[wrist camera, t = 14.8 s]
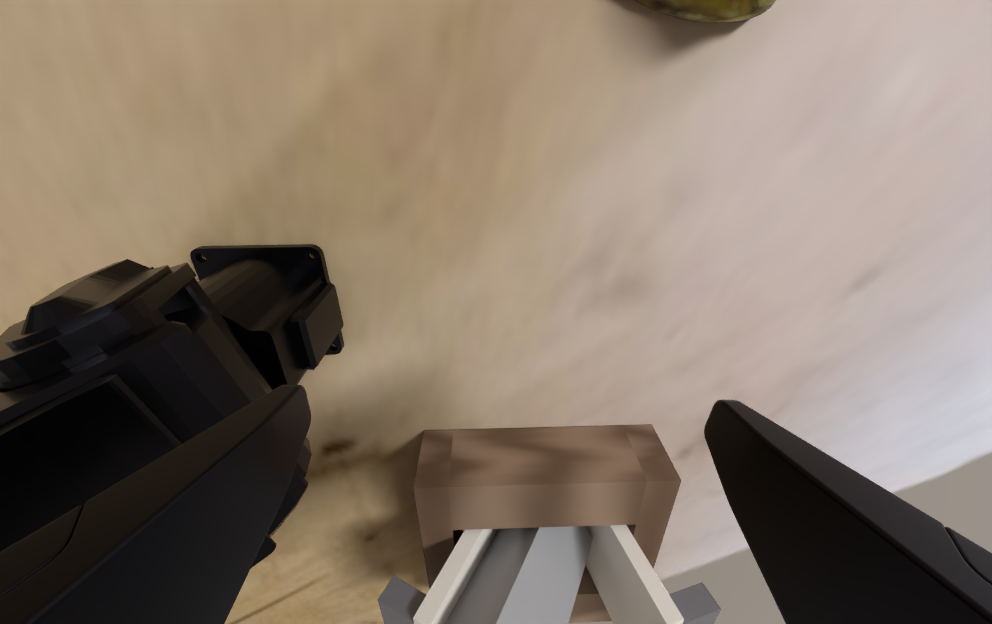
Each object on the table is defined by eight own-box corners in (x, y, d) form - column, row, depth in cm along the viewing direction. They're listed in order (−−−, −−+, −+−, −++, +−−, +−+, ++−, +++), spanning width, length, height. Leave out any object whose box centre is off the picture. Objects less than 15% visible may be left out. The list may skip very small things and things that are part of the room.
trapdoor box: (441, 566, 34) (436, 627, 30) (424, 430, 26) (413, 488, 22) (619, 560, 34) (636, 620, 30) (651, 424, 27) (681, 480, 23)
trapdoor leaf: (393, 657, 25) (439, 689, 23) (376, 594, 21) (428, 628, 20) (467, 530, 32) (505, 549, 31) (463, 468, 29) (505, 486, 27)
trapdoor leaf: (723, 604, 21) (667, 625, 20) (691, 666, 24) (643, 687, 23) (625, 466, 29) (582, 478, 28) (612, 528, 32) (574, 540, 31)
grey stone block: (513, 501, 30) (419, 669, 20) (557, 487, 28) (475, 669, 18) (546, 548, 30) (468, 739, 20) (593, 538, 28) (531, 749, 18)
